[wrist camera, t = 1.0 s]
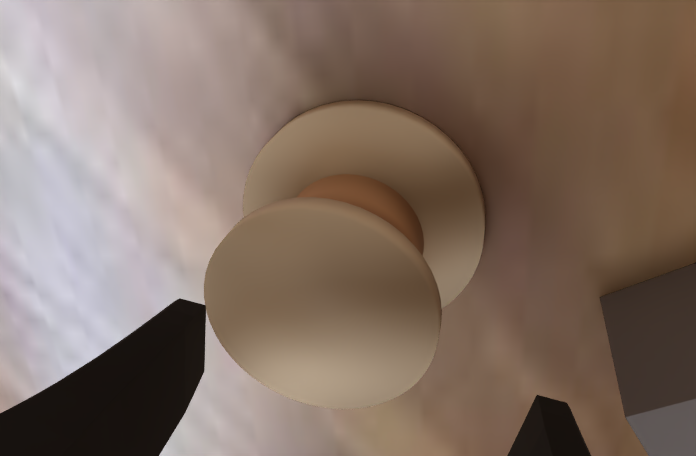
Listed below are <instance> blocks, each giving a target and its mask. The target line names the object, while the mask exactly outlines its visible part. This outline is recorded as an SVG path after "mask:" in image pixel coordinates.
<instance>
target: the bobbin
mask: <svg viewBox="0 0 696 456" xmlns="http://www.w3.org/2000/svg"><path fill="white" fill-rule="evenodd" d="M243 214H244V218H243V219H242V220H240V221H239V222H238V223H237V224H236V225H235V226H234V227H233V228H232V230H231V231H230V232H229V233H228V234H227V236H226V237H225V238H224V239H223V240H222V242H221V243H220V244H219V246H218V247H217V248H216V250H215V251H214V253H213V255H212V257H211V259H210V261H209V264H208V267H207V271H206V275H205V282H204V299H205V305H206V311H207V314H208V317H209V321H210V323H211V325H212V328H213V330H214V332H215V334H216V336H217V338H218V339H219V341H220V343H221V344H222V346H223V347H224V348H225V350H226V351H227V352H228V354H229V355H230V356H231V357H232V359H233V360H234V361H235V362H236V363H237V364H238V365H239V366H240V367H241V368H242V369H243V370H245V371H246V372H247V373H248V374H249V375H250V376H252V377H253V378H254V379H256V380H257V381H258V382H260V383H261V384H263V385H264V386H266V387H268V388H270V389H271V390H273V391H275V392H277V393H279V394H281V395H283V396H285V397H287V398H290V399H293V400H295V401H298V402H301V403H305V404H308V405H312V406H317V407H323V408H329V409H359V408H366V407H371V406H375V405H379V404H382V403H385V402H387V401H390V400H392V399H395V398H396V397H398V396H400V395H401V394H403V393H405V392H406V391H408V390H409V389H410V388H411V387H413V386H414V385H415V384H416V383H417V382H418V381H419V380H420V379H421V377H422V376H423V375H424V374H425V372H426V371H427V369H428V368H429V366H430V364H431V362H432V360H433V357H434V355H435V352H436V348H437V343H438V338H439V332H440V326H441V315H442V309H443V308H444V307H446V306H447V305H448V304H449V303H451V302H452V301H453V300H454V299H455V298H456V297H457V296H458V295H459V294H460V293H461V292H462V291H463V290H464V288H465V287H466V286H467V284H468V283H469V281H470V280H471V278H472V276H473V275H474V273H475V270H476V268H477V266H478V264H479V261H480V257H481V253H482V250H483V242H484V233H485V221H486V220H485V204H484V199H483V194H482V190H481V187H480V184H479V181H478V178H477V176H476V174H475V172H474V170H473V168H472V166H471V164H470V162H469V161H468V160H467V158H466V157H465V155H464V154H463V153H462V151H461V150H460V148H459V147H458V146H457V145H456V144H455V143H454V142H453V141H452V140H451V139H450V138H449V137H448V136H447V135H446V134H445V133H444V132H442V131H441V130H440V129H439V128H437V127H436V126H435V125H433V124H432V123H430V122H429V121H427V120H425V119H424V118H422V117H421V116H419V115H416V114H414V113H412V112H410V111H408V110H406V109H403V108H400V107H397V106H393V105H390V104H386V103H381V102H375V101H364V100H349V101H338V102H334V103H329V104H324V105H321V106H319V107H316V108H313V109H310V110H308V111H306V112H304V113H303V114H301V115H299V116H297V117H295V118H294V119H293V120H291V121H290V122H289V123H287V124H286V125H285V126H284V127H283V128H282V129H281V130H280V131H279V132H278V133H277V134H276V135H275V136H274V137H273V138H272V139H271V140H270V141H269V142H268V143H267V144H266V145H265V146H264V147H263V149H262V150H261V151H260V153H259V154H258V156H257V157H256V159H255V161H254V163H253V165H252V167H251V169H250V171H249V174H248V177H247V180H246V184H245V190H244V195H243Z"/></svg>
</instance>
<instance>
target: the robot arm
mask: <svg viewBox="0 0 696 456" xmlns="http://www.w3.org/2000/svg"><path fill="white" fill-rule="evenodd" d="M205 322H206V305H202V304H198V303H195V302H191V301H187V300H183V299H178V300H176V301H174V302H173V303H172V304H170V305H169V306H168V307H166V308H165V309H164V310H162V311H161V312H160V313H158V314H157V315H156V316H154V317H153V318H152V319H150V320H149V321H148V322H146V323H145V324H143V325H142V326H141V327H139V328H138V329H137V330H135V331H134V332H132V333H131V334H130V335H128V336H127V337H125V338H124V339H123V340H121V341H120V342H118V343H117V344H115V345H114V346H112V347H111V348H110V349H108V350H107V351H105V352H104V353H102V354H101V355H99V356H98V357H96V358H95V359H93V360H92V361H90V362H89V363H87V364H86V365H84V366H82V367H81V368H79V369H78V370H76V371H74V372H73V373H71V374H70V375H68V376H66V377H65V378H63V379H62V380H60V381H58V382H57V383H55V384H53V385H52V386H50V387H48V388H47V389H45V390H43V391H41V392H40V393H38V394H36V395H34V396H32V397H31V398H29V399H27V400H25V401H23V402H21V403H19V404H17V405H16V406H14V407H12V408H10V409H8V410H6V411H4V412H2V413H0V456H159V454H160V453H161V451H162V450H163V448H164V446H165V445H166V443H167V442H168V440H169V438H170V437H171V435H172V433H173V432H174V430H175V428H176V427H177V425H178V424H179V422H180V420H181V419H182V417H183V415H184V414H185V412H186V410H187V407H188V405H189V403H190V401H191V399H192V397H193V395H194V393H195V390H196V388H197V386H198V384H199V382H200V379H201V377H202V375H203V373H204V362H205ZM508 456H591V455H590V452H589V450H588V448H587V446H586V444H585V441H584V439H583V437H582V435H581V432H580V430H579V428H578V426H577V423H576V421H575V419H574V416H573V414H572V412H571V409H570V407H569V406H568V404H567V403H565V402H561V401H558V400H554V399H550V398H547V397H543V396H539V395H537V396H536V398H535V400H534V402H533V404H532V406H531V408H530V410H529V412H528V414H527V417H526V419H525V421H524V423H523V425H522V427H521V429H520V431H519V433H518V435H517V437H516V439H515V441H514V443H513V445H512V448H511V450H510V452H509V454H508Z"/></svg>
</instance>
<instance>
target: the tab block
mask: <svg viewBox="0 0 696 456" xmlns="http://www.w3.org/2000/svg"><path fill="white" fill-rule="evenodd" d="M600 301H601V305H602V310H603V315H604V319H605V324H606V329H607V333H608V338H609V343H610V348H611V352H612V357H613V362H614V366H615V371H616V376H617V380H618V385H619V390H620V395H621V399H622V404H623V409H624V413H625V418H626V419H627V421H628V422H629V424H630V426H631V427H632V429H633V431H634V432H635V434H636V436H637V437H638V439H639V440H640V442H641V444H642V445H643V447H644V449H645V450H646V452H647V454H648V455H649V456H696V263H694V264H691V265H689V266H686V267H683V268H680V269H677V270H675V271H672V272H669V273H666V274H664V275H661V276H658V277H655V278H652V279H650V280H647V281H644V282H641V283H638V284H636V285H633V286H630V287H627V288H625V289H622V290H619V291H616V292H613V293H611V294H608V295H605V296H602V297H600Z"/></svg>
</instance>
